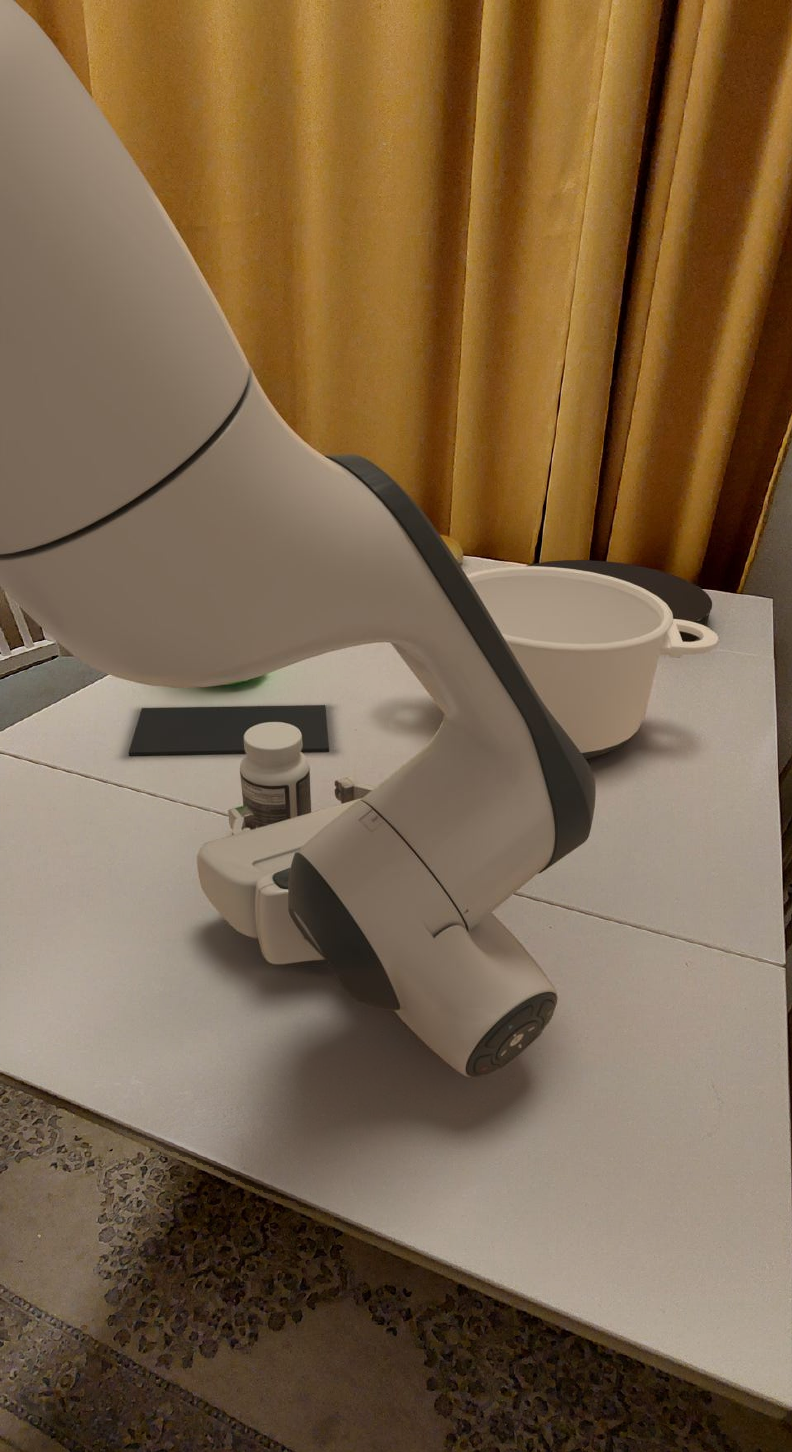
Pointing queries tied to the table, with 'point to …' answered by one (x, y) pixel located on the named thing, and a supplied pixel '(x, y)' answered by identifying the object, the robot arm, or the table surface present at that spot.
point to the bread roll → (453, 548)
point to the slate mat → (221, 728)
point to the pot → (586, 645)
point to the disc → (652, 587)
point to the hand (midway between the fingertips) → (291, 799)
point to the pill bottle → (275, 773)
